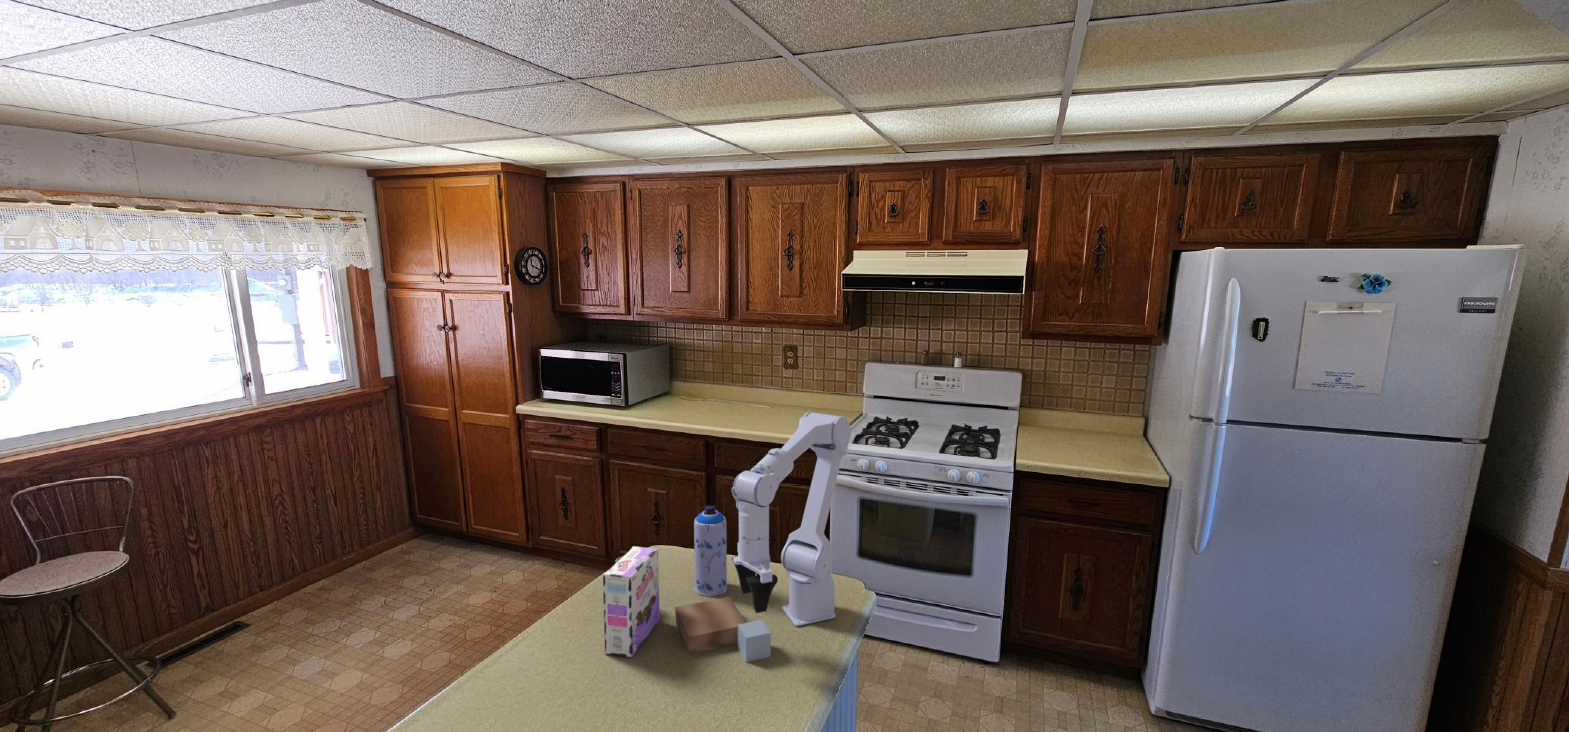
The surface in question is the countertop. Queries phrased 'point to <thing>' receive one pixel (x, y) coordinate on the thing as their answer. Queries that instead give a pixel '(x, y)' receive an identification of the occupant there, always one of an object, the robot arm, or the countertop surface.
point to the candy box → (631, 601)
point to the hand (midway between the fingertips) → (753, 601)
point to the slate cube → (754, 640)
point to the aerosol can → (710, 553)
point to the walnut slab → (708, 624)
